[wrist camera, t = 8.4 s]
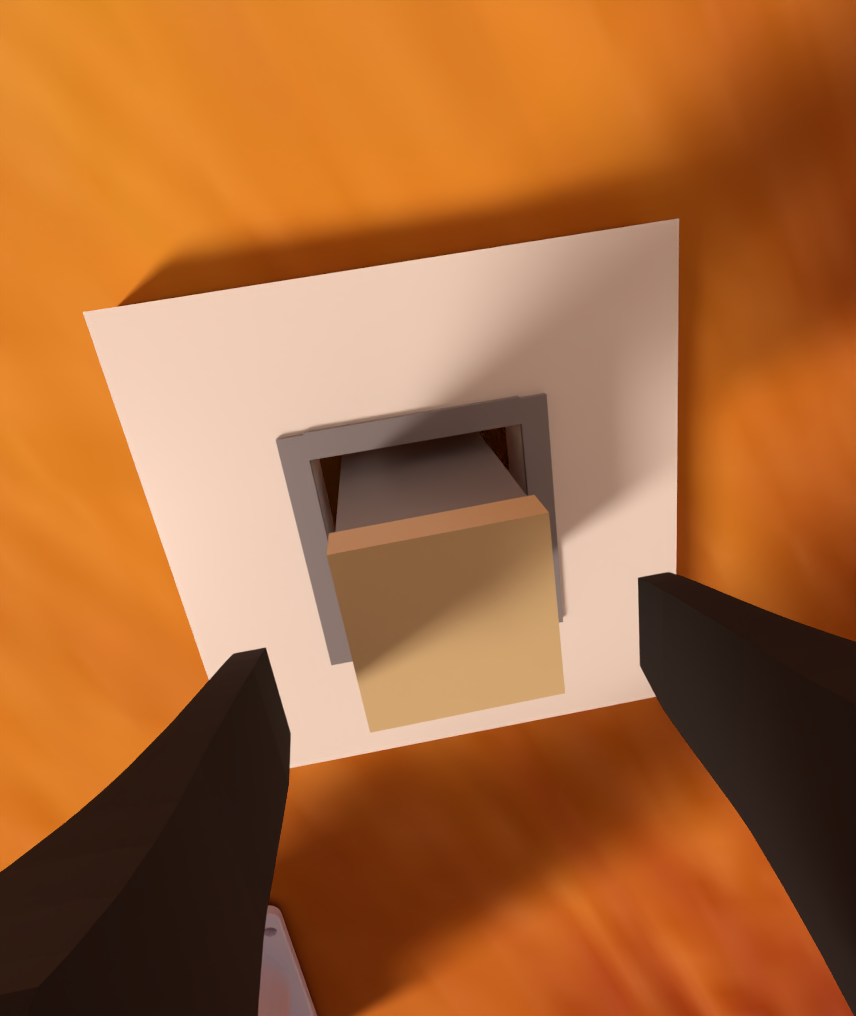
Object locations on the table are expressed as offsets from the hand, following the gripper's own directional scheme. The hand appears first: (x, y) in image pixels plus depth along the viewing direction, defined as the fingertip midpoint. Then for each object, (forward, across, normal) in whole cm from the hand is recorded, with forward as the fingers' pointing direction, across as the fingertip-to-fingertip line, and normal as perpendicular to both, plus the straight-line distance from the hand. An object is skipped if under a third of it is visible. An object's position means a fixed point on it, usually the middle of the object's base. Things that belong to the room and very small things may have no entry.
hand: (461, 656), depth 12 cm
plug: (+8, 0, 0) cm, 8 cm away
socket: (+8, 0, 0) cm, 8 cm away
